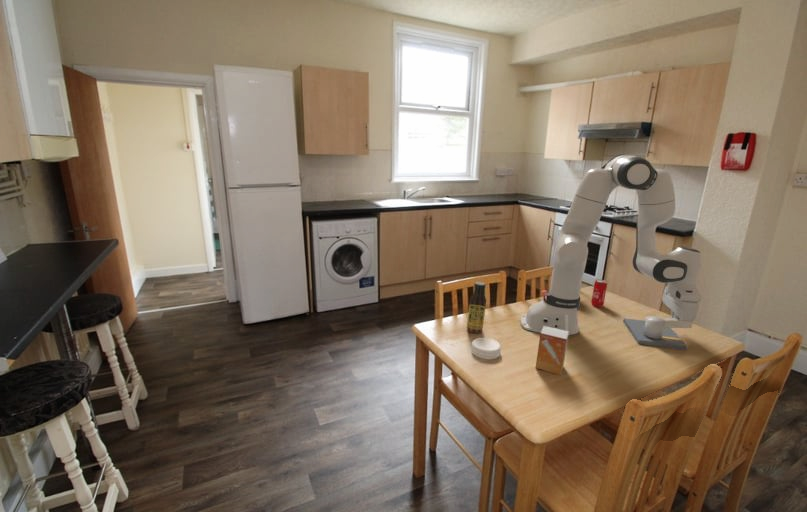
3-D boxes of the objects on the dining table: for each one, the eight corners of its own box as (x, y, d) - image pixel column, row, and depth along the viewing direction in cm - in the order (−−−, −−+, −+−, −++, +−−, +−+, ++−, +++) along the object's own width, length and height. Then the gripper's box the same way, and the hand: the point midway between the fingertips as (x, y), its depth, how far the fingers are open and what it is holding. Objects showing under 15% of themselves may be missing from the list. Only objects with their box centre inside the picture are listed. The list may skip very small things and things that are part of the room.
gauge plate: (637, 343, 144) (638, 339, 144) (623, 321, 163) (623, 317, 162) (686, 350, 140) (687, 345, 140) (665, 326, 159) (666, 322, 159)
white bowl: (504, 351, 137) (505, 342, 136) (494, 363, 129) (495, 354, 128) (477, 343, 143) (478, 334, 142) (466, 354, 135) (467, 345, 134)
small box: (535, 368, 126) (539, 332, 123) (538, 359, 132) (543, 325, 128) (561, 375, 123) (567, 339, 119) (563, 366, 128) (569, 330, 124)
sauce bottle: (466, 332, 150) (469, 284, 144) (467, 325, 156) (470, 279, 150) (483, 335, 148) (487, 286, 143) (483, 327, 154) (487, 281, 149)
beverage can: (604, 308, 176) (608, 283, 173) (592, 306, 177) (596, 282, 174) (601, 303, 181) (605, 279, 178) (589, 302, 182) (593, 278, 179)
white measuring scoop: (649, 338, 144) (653, 323, 142) (639, 331, 150) (642, 316, 148) (693, 338, 145) (697, 322, 143) (681, 331, 150) (685, 316, 149)
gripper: (661, 279, 155) (655, 311, 159) (683, 298, 136) (676, 333, 140) (678, 280, 154) (672, 312, 158) (704, 299, 135) (696, 335, 139)
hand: (674, 322), depth 149 cm, fingers closed
